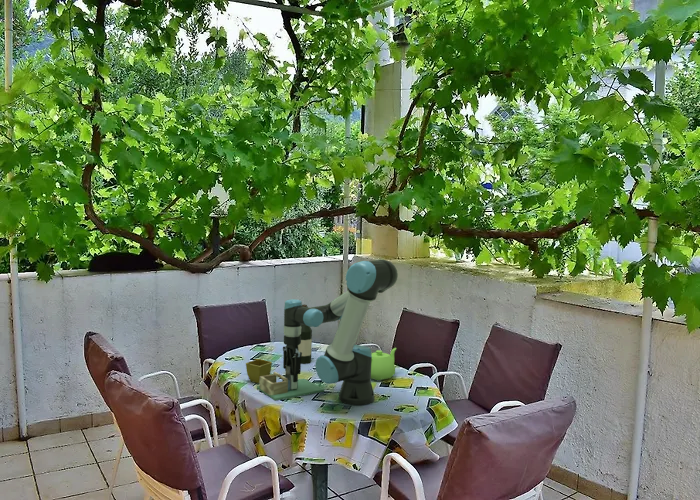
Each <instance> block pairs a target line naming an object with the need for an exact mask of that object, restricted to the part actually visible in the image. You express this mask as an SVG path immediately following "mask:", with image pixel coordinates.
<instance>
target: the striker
mask: <svg viewBox="0 0 700 500" xmlns="http://www.w3.org/2000/svg"><path fill="white" fill-rule="evenodd" d="M291 374H292V364H290V365H286V371H285V376H284V377H285V378H287V379H288V390H292V389H291ZM281 380H282V379H281ZM298 380H299V374H298V375H297V389H298ZM282 381H284V380H282ZM282 381H281V382H282Z"/></svg>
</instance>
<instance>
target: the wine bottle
mask: <svg viewBox="0 0 700 500" xmlns="http://www.w3.org/2000/svg"><path fill="white" fill-rule="evenodd" d="M302 306H303V307H308V308H309V306H308V304H302ZM301 327H302V328H301V334H300V336H301V344H300V345H298V349H299V350H298V351H299V352H302V356H301V365H308V364H311V362H312V351H313V350H312V348H313V347H312V346H313V345H312V344H313V343H312V339H313V337H312V336H313V329H312V327H309V326H307V325H303V324H301Z"/></svg>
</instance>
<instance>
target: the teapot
mask: <svg viewBox="0 0 700 500" xmlns="http://www.w3.org/2000/svg"><path fill="white" fill-rule="evenodd" d="M396 351H397V347H394V348H392V349H391V351H390V353H386V352H383V350H379V349H377V350H376V351H375V352H371V353H372V362H371V380H375V381H376V380H381V381H382V380H388V378H389V379H391V378H392V377H393V376H395V373H396V367H395V352H396Z"/></svg>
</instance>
